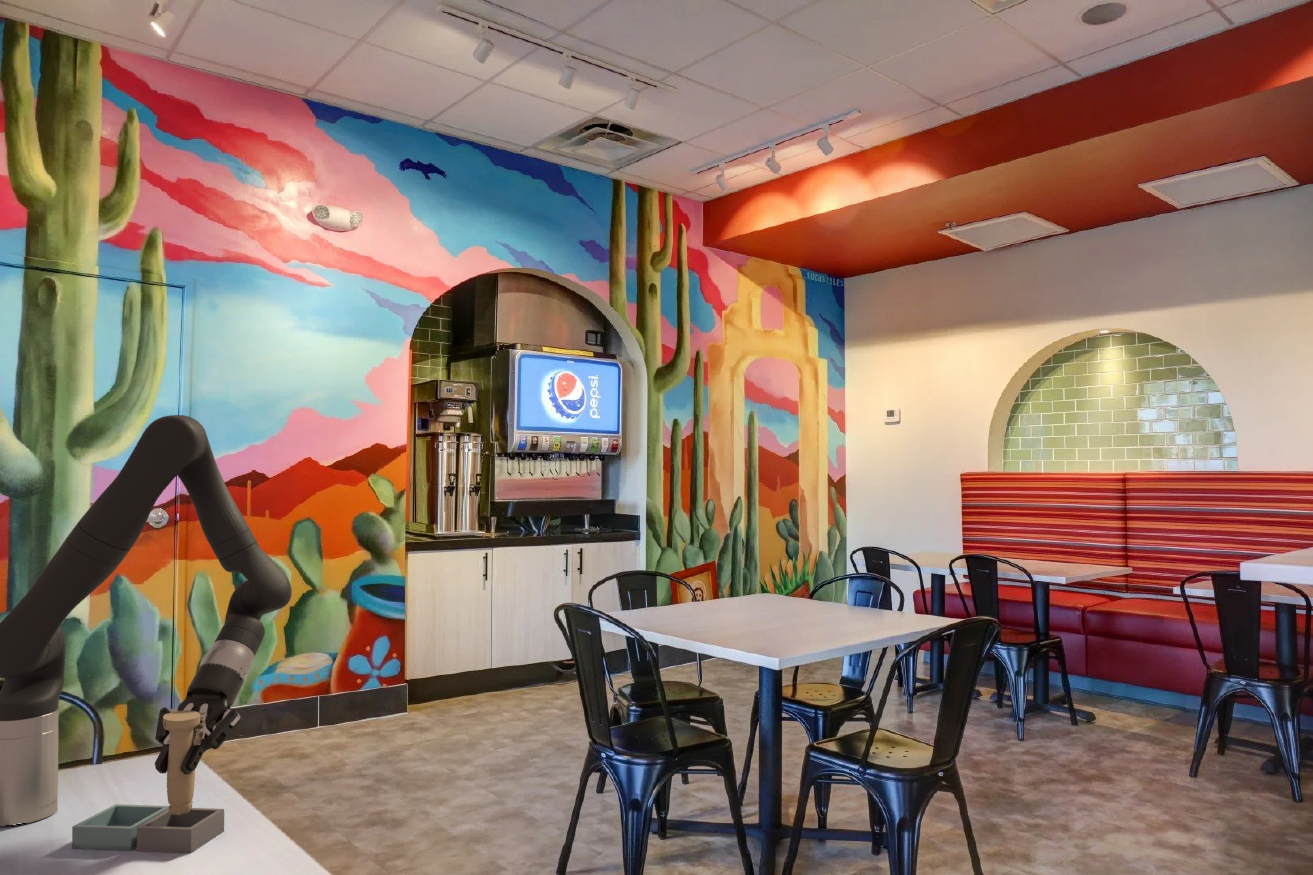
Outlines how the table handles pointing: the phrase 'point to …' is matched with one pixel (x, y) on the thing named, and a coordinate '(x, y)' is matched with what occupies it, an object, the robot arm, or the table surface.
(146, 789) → the table surface
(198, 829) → the open rectangular frame
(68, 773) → the table surface
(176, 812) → the handle
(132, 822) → the parts tray
